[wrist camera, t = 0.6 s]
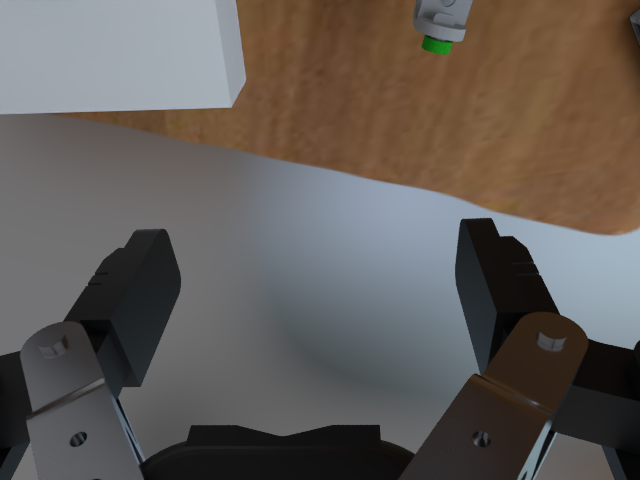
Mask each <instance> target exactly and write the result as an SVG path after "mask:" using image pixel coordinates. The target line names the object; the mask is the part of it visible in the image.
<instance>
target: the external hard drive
mask: <svg viewBox="0 0 640 480" xmlns="http://www.w3.org/2000/svg"><path fill="white" fill-rule="evenodd" d="M630 21H631V24H632V27H633V30H634V32H635V35H636V38H637V40H638V43H639V46H640V9H639V10H638V11H636V12H635V13H634V14H633V15H632V16H631V17H630Z"/></svg>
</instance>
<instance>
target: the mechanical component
mask: <svg viewBox="0 0 640 480" xmlns="http://www.w3.org/2000/svg"><path fill="white" fill-rule="evenodd" d="M472 1H473V0H416V4H415V9H414V15H413V25H414V26H415V28H416V30H417V31H419V32H421V33H423V34H425V37H424V40H423V43H422V48H423V49H425V50H427V51H430V52H433V53H437V54H449V52H450V48H451V45H452V42H453V41H462V40H463V37H464V34H465V31H466V27H465V26H464V25H465V22H466V19H467V16H468V13H469V10H470V7H471V4H472Z"/></svg>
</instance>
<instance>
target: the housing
mask: <svg viewBox="0 0 640 480" xmlns="http://www.w3.org/2000/svg"><path fill="white" fill-rule="evenodd" d="M245 82H246V75H245V67H244V60H243V52H242V44H241V37H240V29H239V21H238V14H237V6H236V0H0V114H25V113H59V112H93V111H128V110H162V109H196V108H231V107H232V105H233V103H234V102H235V100H236V98H237V96H238V94H239V93H240V91H241V89H242V87H243V85H244V84H245Z"/></svg>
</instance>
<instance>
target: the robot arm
mask: <svg viewBox="0 0 640 480" xmlns="http://www.w3.org/2000/svg"><path fill="white" fill-rule="evenodd" d="M455 277H456V286H457V290H458V294H459V298H460V301H461V305H462V308H463V312H464V316H465V319H466V323H467V327H468V330H469V334H470V338H471V341H472V345H473V349H474V352H475V356H476V360H477V363H478V367H479V371H480V374H481V376H480V375H478V374H473V375H472V376H471V377H470V378H469V379H468V381H467V382H466V384H465V385H464V386H463V388H462V389H461V391H460V392H459V393H458V395H457V396H456V398H455V399H454V400H453V402H452V403H451V405H450V406H449V408H448V409H447V410H446V412H445V413H444V415H443V416H442V418H441V419H440V420H439V422H438V423H437V425H436V426H435V428H434V429H433V430H432V432H431V433H430V435H429V436H428V438H427V439H426V440H425V442H424V443H423V445H422V446H421V447H420V449H419V450H418V452H417V453H416V454H414V453H412V452H410V451H409V450H407V449H405V448H403V447H401V446H398V445H396V444H393V443H390V442H387V441H383V440H381V438H380V425H331V426H326V427H322V428H318V429H314V430H310V431H306V432H301V433H297V434H293V435H289V436H277V435H273V434H269V433H265V432H261V431H257V430H253V429H249V428H245V427H241V426H237V425H192V426H191V428H190V431H189V435H188V438H187V441H184V442H181V443H178V444H175V445H172V446H170V447H168V448H166V449H164V450H162V451H160V452H158V453H156V454H154V455H153V456H151V457H150V458H148V459H147V460H145V458H144V456H143V453H142V451H141V449H140V446H139V444H138V442H137V439H136V437H135V435H134V432H133V430H132V427H131V425H130V423H129V420H128V418H127V416H126V413H125V411H124V409H123V406H122V404H121V402H120V400H119V397H118V396H119V394H120V392H121V390H122V388H123V387H140V386H141V384H142V382H143V379H144V377H145V374H146V372H147V370H148V368H149V365H150V362H151V360H152V358H153V355H154V353H155V351H156V348H157V346H158V344H159V341H160V339H161V336H162V334H163V332H164V329H165V327H166V324H167V322H168V320H169V317H170V315H171V312H172V310H173V308H174V305H175V303H176V300H177V298H178V295H179V293H180V288H181V276H180V271H179V268H178V264H177V261H176V258H175V254H174V251H173V248H172V245H171V242H170V238H169V235H168V233H167V231H166V230H165V229H144V230H136V231H135V232H134V233H133V234H132V236H131V238H130V239H129V241H128V243H127V244H126V246H125V247H124V248H118V249H117V250H115V251H114V252H113V253H112V254H110V255H109V256H108V257H106V258H105V259H104V260H103V261H102V263H101V265H100V266H99V268H98V269H97V271H96V272H95V275H94V276H93V277H92V278H91V280H90V281H89V283H88V286H86V287H85V289H84V290H83V292H82V293H81V295H80V296H79V298H78V299H77V301H76V302H75V304H74V305H73V307H72V308H71V310H70V311H69V313H68V315H67V316H66V318H65V319H64V321H63V322H58V323H55V324H52V325H49V326H47V327H45V328H43V329H41V330H39V331H38V332H36V333H35V334H33V335H32V336H31V337H30V338H29V339H28V340H27V341H26V342H25V344H24V345H23V347H22V349H21V351H18V352H14V353H10V354H6V355H2V356H0V480H11V478H12V476H13V474H14V472H15V470H16V469H17V467H18V465H19V462H20V461H21V459H22V457H23V455H24V453H25V451H26V449H27V447H28V445H29V443H30V441H31V446H32V450H33V455H34V460H35V464H36V469H37V474H38V479H39V480H535V478H536V476H537V474H538V472H539V469H540V468H541V465H542V463H543V461H544V459H545V457H546V455H547V453H548V451H549V449H550V447H551V445H552V443H553V441H554V439H555V437H556V435H557V433H561V434H564V435H568V436H571V437H575V438H578V439H582V440H586V441H589V442H593V443H596V444H600V445H602V448H603V451H604V453H605V456H606V459H607V461H608V464H609V466H610V469H611V471H612V474H613V477H614V479H615V480H640V341H638V342H637V344H636V346H635V348H634V350H631V349H627V348H622V347H617V346H613V345H608V344H603V343H600V342H596V341H593V340H591V339H588V338H587V336H586V333H585V332H584V331H583V329H582V328H581V327H580V326H579V325H577V324H576V323H575V322H574V321H572V320H570V319H568V318H566V317H564V316H562V315H560V313H559V311H558V309H557V307H556V305H555V303H554V301H553V299H552V297H551V295H550V293H549V291H548V289H547V287H546V285H545V283H544V281H543V279H542V277H541V276H540V275H539V271H538V269H537V267H536V265H535V264H534V261H533V259H532V257H531V255H530V253H529V251H528V249H527V248H526V247H525V246H524V245H523V244H522V243H520V242H519V241H518V240H517V239H515V238H514V237H513V236H503V237H502V236H501V237H500V236H499V233H498V231H497V229H496V227H495V224H494V222H493V220H492V219H491V218H476V219H462V220H461V222H460V228H459V237H458V246H457V255H456V264H455Z"/></svg>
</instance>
